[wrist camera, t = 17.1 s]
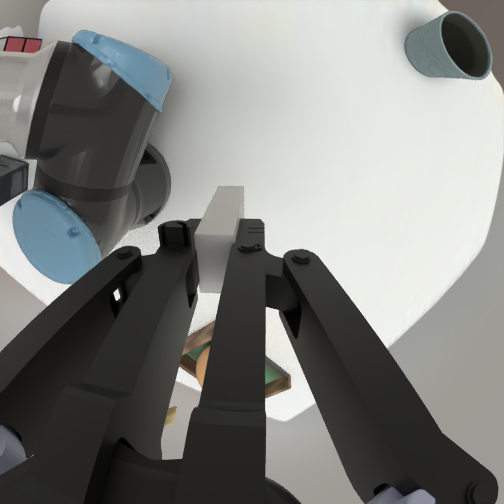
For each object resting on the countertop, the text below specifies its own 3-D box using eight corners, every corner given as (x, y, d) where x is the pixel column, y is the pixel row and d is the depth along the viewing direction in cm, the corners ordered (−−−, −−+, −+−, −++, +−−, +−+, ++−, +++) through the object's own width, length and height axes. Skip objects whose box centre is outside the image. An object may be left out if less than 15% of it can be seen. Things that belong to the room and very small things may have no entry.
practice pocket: (220, 317, 56) (203, 412, 37) (290, 375, 65) (294, 454, 46) (172, 345, 61) (147, 427, 42) (242, 394, 70) (237, 466, 51)
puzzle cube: (43, 39, 28) (8, 35, 19) (30, 87, 33) (-5, 91, 24) (14, 43, 27) (-19, 43, 18) (4, 87, 32) (-30, 92, 23)
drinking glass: (415, 86, 33) (459, 85, 22) (389, 30, 29) (426, 13, 18) (456, 74, 30) (501, 74, 20) (432, 22, 26) (474, 9, 16)
